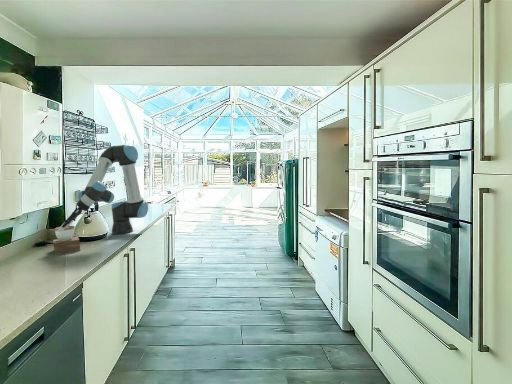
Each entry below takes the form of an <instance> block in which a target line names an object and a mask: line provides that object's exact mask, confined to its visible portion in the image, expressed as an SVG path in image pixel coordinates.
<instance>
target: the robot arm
mask: <svg viewBox="0 0 512 384" xmlns="http://www.w3.org/2000/svg"><path fill="white" fill-rule="evenodd" d="M138 159H139V152H138V150H137V148H136V146H134V145H133V144H121V145H112V146H109V147H108V148H106V149H105V150H104V151H103V152H102V153H101V154H100V155H99V157H98V159H97V160H98V161H97V165H96V167H95V169H94V170H93V172H92V174H91V176H90V178H89V180H88V182H87V184H86V185H85V188H84V190H80V191H78V193H77V199H78V200H77V202H76V206H77V207H78V208H77V207H76V208H75V209H74V210H73V211H72V213H71V214H70V215H69V216H68V217H67V219H63V223H62V224H61V226H59V227H60V228H59V229H58V231H59V232H61V233H62V231H63V230H64V229H65V228H66V227H67V226H71V225H72V224H73V223H74V222H76V219H77V217H79V215H81V214H82V213H83V211H84V212H88V210H89V209H90V208H91V206H93V205H95V204H96V203H97V202H98V203H101V202H103V203H106V204H111V203H112V202H113V201H115V195H114V193H113V192H112V191H110V190H109V189H107V186H106V185H105V184H104V183H103V181H104V178H105V176H106V175H107V173H108V170H109V169H110V168H111V167H112V165H113V164H114V163H118V165H119V167H121V168H122V169H121V170H122V174H123V178H124V182H125V188H126V192H127V197H128V199H127V200H122V201H118V202H113V203H112V204H111V212H112V213H111V214H112V222H113V223H112V227H111V234H112V235H122V234H123V235H124V234H127V233H128V234H129V233H132V232H133V231H134V228H133V225H132V224H131V220H130V219H140V218H141V219H142V218H145V217H146V216H147V214H148V212H149V204H148V202H147V201H145V200H144V198H143V197H142V196H141V192H140V191H141V190H140V185H139V181H138V177H137V171H136V167H135V165H136V164H137V161H138Z"/></svg>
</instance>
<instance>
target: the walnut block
mask: <svg viewBox="0 0 512 384" xmlns="http://www.w3.org/2000/svg"><path fill="white" fill-rule="evenodd" d="M52 244H53V251H54V255H60V253H61V254H68V253H72V252H73V251H74V252H79V251H81V243H80V238H79V237H78V236H73V237H72V238H71V239H70V240H66V241H60V240H59V239H58V238H57V239H52ZM67 252H68V253H67Z"/></svg>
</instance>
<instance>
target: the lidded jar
mask: <svg viewBox="0 0 512 384" xmlns="http://www.w3.org/2000/svg"><path fill="white" fill-rule="evenodd" d="M59 228H60V226H57V227H55V228H54V232H55V236H56V238H57V239H59V240H60V241H66V240H70V239H71V238H72V237H74V236H75V235H74V234H75V225H70V226H67V227H66V228H65V229H64V230H63V231H62V233H61V232H59V231H58V229H59Z"/></svg>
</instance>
